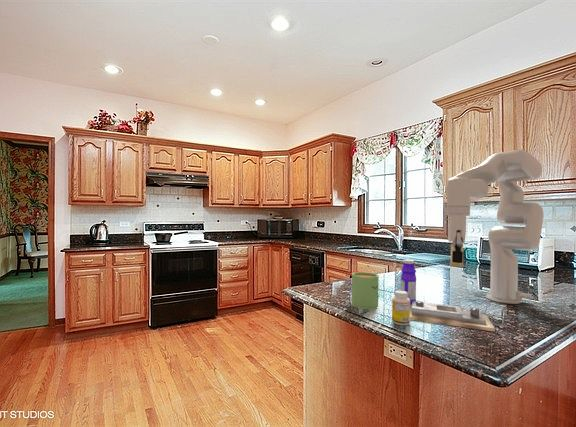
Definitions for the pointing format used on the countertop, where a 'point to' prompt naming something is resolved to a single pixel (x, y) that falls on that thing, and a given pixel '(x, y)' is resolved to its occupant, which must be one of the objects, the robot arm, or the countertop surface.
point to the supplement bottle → (401, 308)
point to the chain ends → (447, 312)
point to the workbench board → (454, 322)
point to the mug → (365, 290)
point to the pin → (453, 262)
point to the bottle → (409, 279)
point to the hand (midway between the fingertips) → (456, 261)
